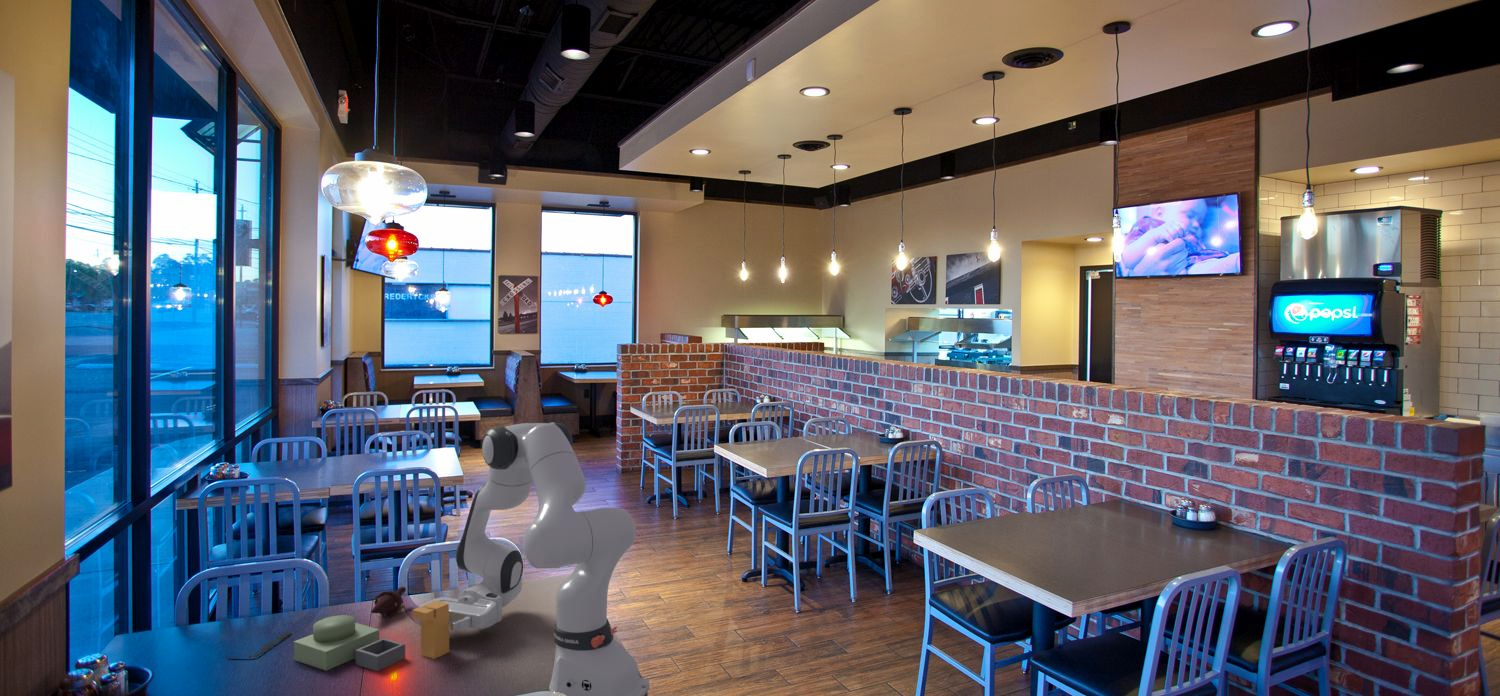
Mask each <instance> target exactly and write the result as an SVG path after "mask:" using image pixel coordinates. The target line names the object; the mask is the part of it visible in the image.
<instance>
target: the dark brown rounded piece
mask: <svg viewBox="0 0 1500 696" xmlns="http://www.w3.org/2000/svg"><path fill="white" fill-rule="evenodd" d="M406 590H407V588H406V587H405V586H401V587H398V588H397V589H396V591H394V590H386V591H381V592H380V593H379V594H378V595H376V596H374V606H373V608H372V610H371V611H370V613H372V614H380V616H382V617H393V616H394V615H395V614H396V613H397V612H399V610H400V608H401V607H402V606H403V603H404V601H403V597H402V595H404V594H405V592H406Z"/></svg>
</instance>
